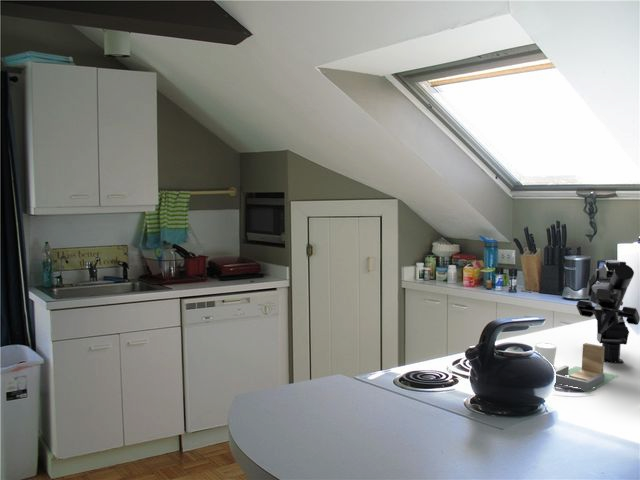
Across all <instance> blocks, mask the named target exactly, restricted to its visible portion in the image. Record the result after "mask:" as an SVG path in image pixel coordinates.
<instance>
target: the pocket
mask: <svg viewBox="0 0 640 480" xmlns="http://www.w3.org/2000/svg"><path fill="white" fill-rule="evenodd" d="M569 369H570V368H569V365H563V366H561V367H559V368H557V369H554V370H555V372H556V384H555V385H557V384H562V385H568V386H573V387H578V388H581V389H583V390H585V391H584V392H586V391H588V390H590V389H592V388H593V387H596V386H598V385H600V384H601V383H603V382H604V374H602V373H600V374H598V375H596V376H594V377H592V378H590V379H588V380H586V381H584V380H580V379H575V378H571V377H567V376H565V375H567V374H568V370H569Z"/></svg>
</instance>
